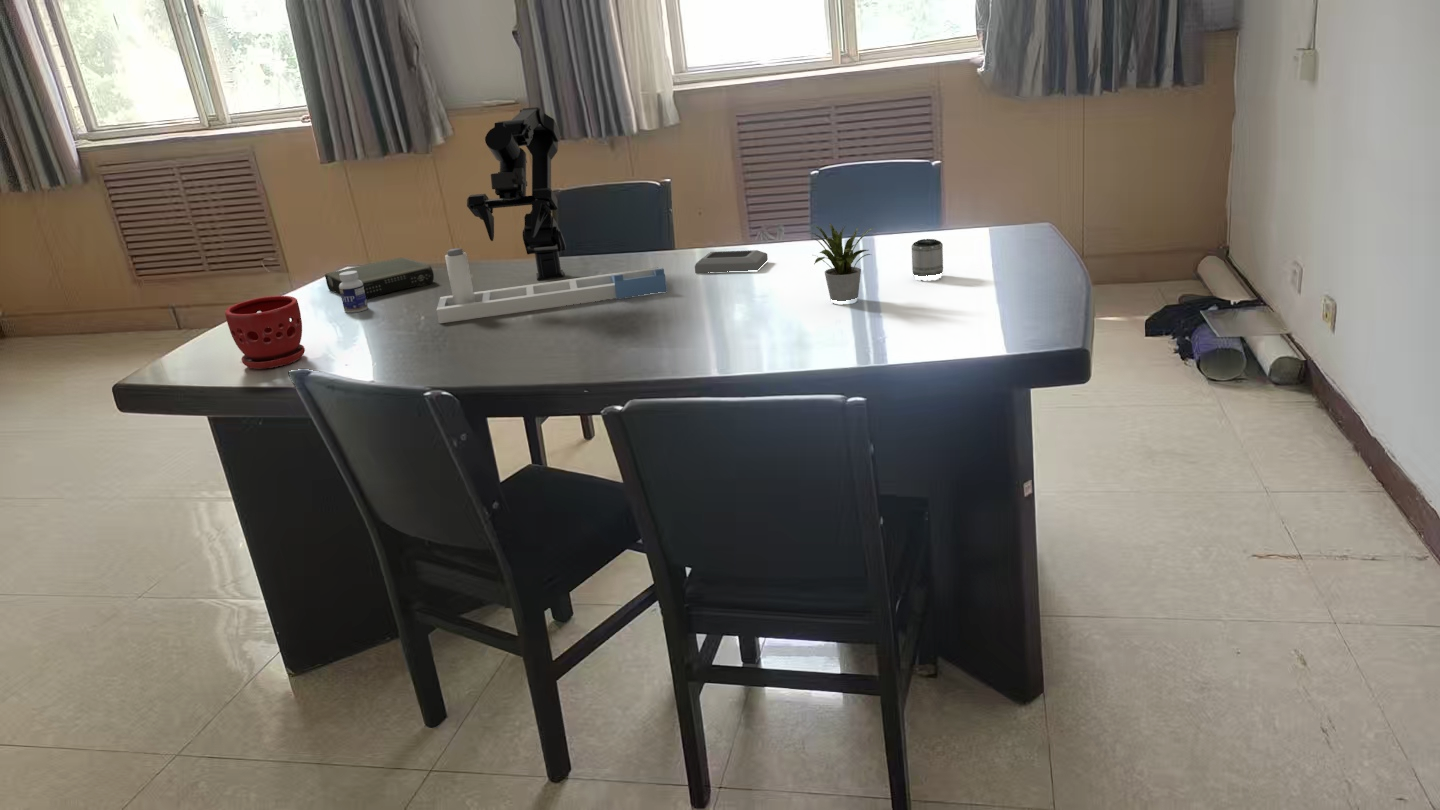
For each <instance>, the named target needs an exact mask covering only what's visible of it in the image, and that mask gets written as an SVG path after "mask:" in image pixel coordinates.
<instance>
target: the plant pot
mask: <svg viewBox="0 0 1440 810" xmlns="http://www.w3.org/2000/svg"><path fill="white" fill-rule="evenodd" d="M224 315H225V319H226V323H227V326H228V329H229V332H230V334H231V337H232V339H233V341H234V343H235V345H236V346H237V348H238V349H239V350H240V352H241V353H242V354H243V355H242V357H241V363H242V364H243V365H244V366H246V367H248V368H250V369H255V370H256V369H257V370H266V368H269V369H274V368H273V367H275V368H279V367H278V366H280V367H283V365H284V366H287V365H291V364H293V363H295V362H297V361H298V360H299V359H301V358H302V357H303V356H304V354H305V351H306V349H305V346H304V345H302V344H301V341H302V335H303V321H302V316H301V310H300V306H299V302H298V299H297V298H296V297H293V296H290V295H272V296H269V295H268V296H262V297H256V298H251V299H248V300H244V301H241V302H238V303H236V304H232V305H230V306H228V308H226V309H225V311H224ZM290 319H291V320H290ZM292 362H293V363H292Z"/></svg>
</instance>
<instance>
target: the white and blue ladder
mask: <svg viewBox="0 0 1440 810" xmlns="http://www.w3.org/2000/svg"><path fill="white" fill-rule="evenodd" d="M666 283H667V280H666V275H665V269H664V268H663V267H662V268H659V267H658V266H656V267H649V268H648V267H647V268H643V269H642V268H641V269H635V270H627V271H620V272H613V273H606V274H598V275H591V276H583V277H577V278H576V277H574V278H569V279H563V280H556V281H555V280H554V281H548V282H547V281H546V282H541V283H531V284H525V285H518V286H517V285H516V286H510V287H503V288H496V289H488V290H483V291H482V290H481V291H473V292H474V297H475V302H474V303H467V304H460V305H454V300H453V295H445V296H440V297H439V301H438V304H437V307H436V315H437V320H438V324H444V323H446V324H447V323H452V322H453V323H454V322H460V321H466V320H467V321H468V320H473V319H481V318H488V317H494V316H495V317H496V316H501V315H510V314H518V313H524V312H529V311H531V312H532V311H538V310H544V309H546V310H547V309H552V308H560V307H566V305H567V306H572V305H573V304H574V305H580V303H581V304H586V303H587V304H588V303H594V302H595V301H596V302H600V300H603V301H606V300H605V299H610V300H612V299H611V298H617V299H618V300H620V299H619V298H625V297H632V296H638V295H644V294H650V293H658V292H666V291H667V292H668V290H667V284H666ZM632 298H633V297H632ZM617 299H616V300H617ZM625 299H626V298H625ZM596 302H595V303H596Z"/></svg>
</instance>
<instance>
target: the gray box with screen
mask: <svg viewBox="0 0 1440 810" xmlns="http://www.w3.org/2000/svg"><path fill="white" fill-rule="evenodd" d="M767 260H768V253H766V252H764V251H760V250H757V249H756V250H755V249H753V250H728V251H727V250H723V251H722V250H721V251H710V252H708V253H707V254H706V255H704V256H703V257H702V258H701V259H699V261H697V262H696V263H695V265H694V272H695V273H708V272H709V273H708V274H711V273H710V272H727V271H728V272H729V271H748V270H758V269H759V268H760V267H761V266H762V265H763V264H764V263H765V262H766V261H767ZM768 261H769V260H768ZM695 273H694V274H695Z"/></svg>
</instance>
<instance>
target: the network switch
mask: <svg viewBox="0 0 1440 810" xmlns="http://www.w3.org/2000/svg"><path fill="white" fill-rule="evenodd" d="M347 271H357V272H358V280H360V281H362V283H363V286H364V291H365V295H366V300H368V299H373V298H375V297H378V296H379V297H380V296H383V295H385V294H389V293H392V292H396V291H401V290H405V289H411V288H414V287H424V286H428V285H430V284H431V283H433V282H434V279H435V278H434V277H435V275H434V271H433V269H432V266H431V264H427V263H423V262H420V261H416V260H413V259H409V258H405V257H398V258H397V257H396V258H393V259H388V260H382V261H379V262H372V263H368V264H364V265H359V266H355V267H349V268H345V269H341V270H336V271H332V272H327V273H325V274H324V278H325V281H326V286H327V288H328V290H329V291H330V292H334V293H337V294H339V295H341V293H340V289H339V285H340V283H342V281H341V280H340V276H339V274H340V273H343V272H347Z"/></svg>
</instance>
